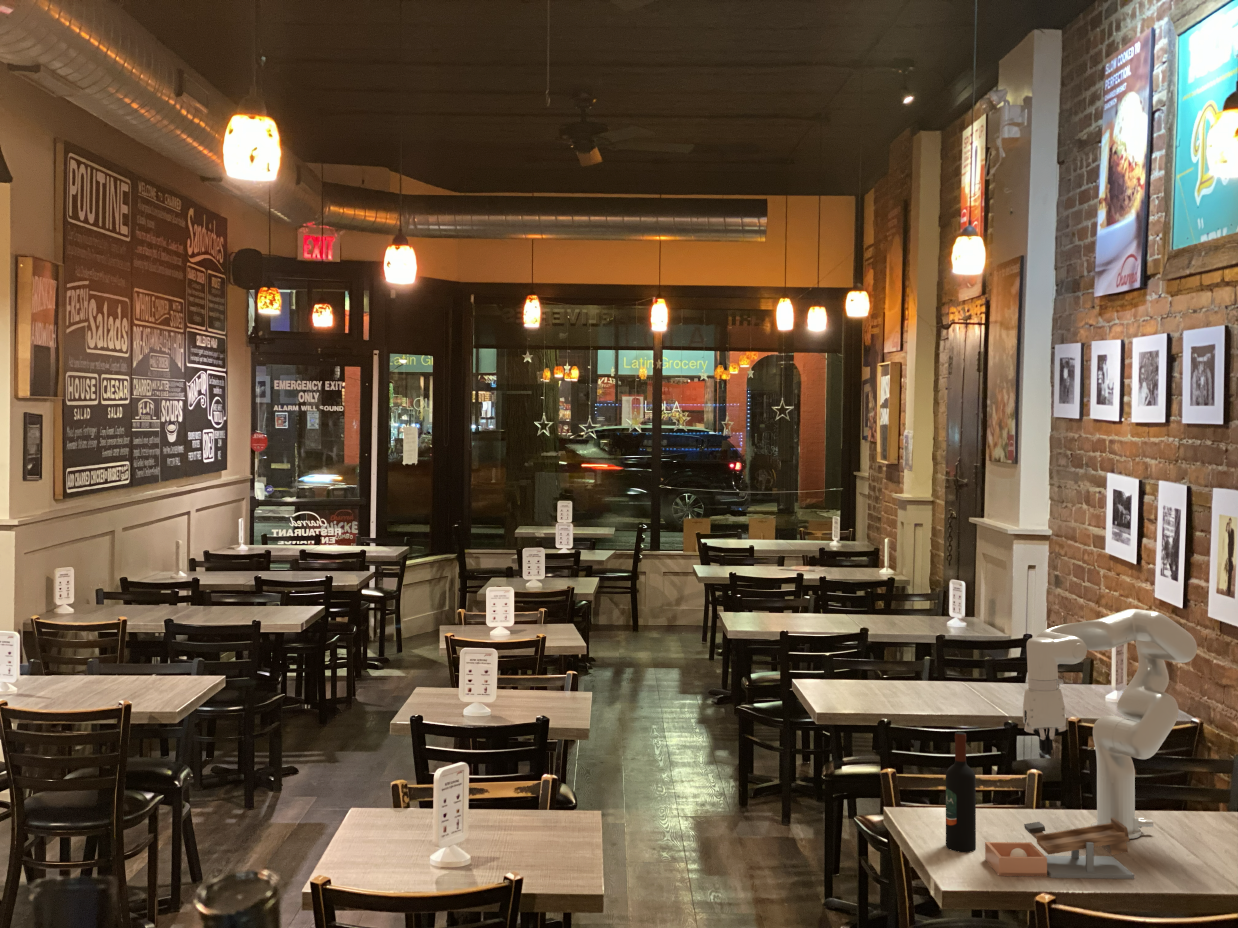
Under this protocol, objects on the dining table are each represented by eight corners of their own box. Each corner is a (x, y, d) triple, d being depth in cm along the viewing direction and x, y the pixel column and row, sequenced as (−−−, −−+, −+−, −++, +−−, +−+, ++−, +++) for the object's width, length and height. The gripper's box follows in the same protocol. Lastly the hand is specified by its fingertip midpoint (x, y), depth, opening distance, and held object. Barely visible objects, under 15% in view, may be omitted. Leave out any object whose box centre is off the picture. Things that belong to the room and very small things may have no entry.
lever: (1103, 830, 291) (1099, 806, 291) (1131, 853, 274) (1126, 827, 274) (1027, 843, 291) (1023, 819, 291) (1050, 866, 274) (1045, 840, 274)
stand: (1112, 859, 284) (1112, 828, 284) (1134, 878, 271) (1134, 845, 271) (1033, 858, 285) (1032, 827, 285) (1051, 877, 272) (1050, 844, 272)
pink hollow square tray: (1031, 859, 284) (1031, 842, 284) (1047, 876, 273) (1047, 857, 273) (985, 859, 285) (985, 841, 285) (999, 875, 273) (999, 857, 273)
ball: (1024, 861, 281) (1023, 845, 281) (1029, 867, 277) (1029, 850, 277) (1008, 861, 281) (1007, 845, 281) (1013, 867, 277) (1012, 851, 277)
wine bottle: (971, 853, 289) (971, 737, 289) (942, 848, 293) (942, 734, 293) (979, 845, 295) (978, 732, 295) (950, 840, 299) (950, 728, 299)
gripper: (1065, 680, 300) (1068, 748, 300) (1010, 682, 300) (1013, 750, 300) (1077, 686, 293) (1080, 755, 293) (1020, 688, 293) (1023, 758, 293)
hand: (1046, 752), depth 297 cm, fingers closed
